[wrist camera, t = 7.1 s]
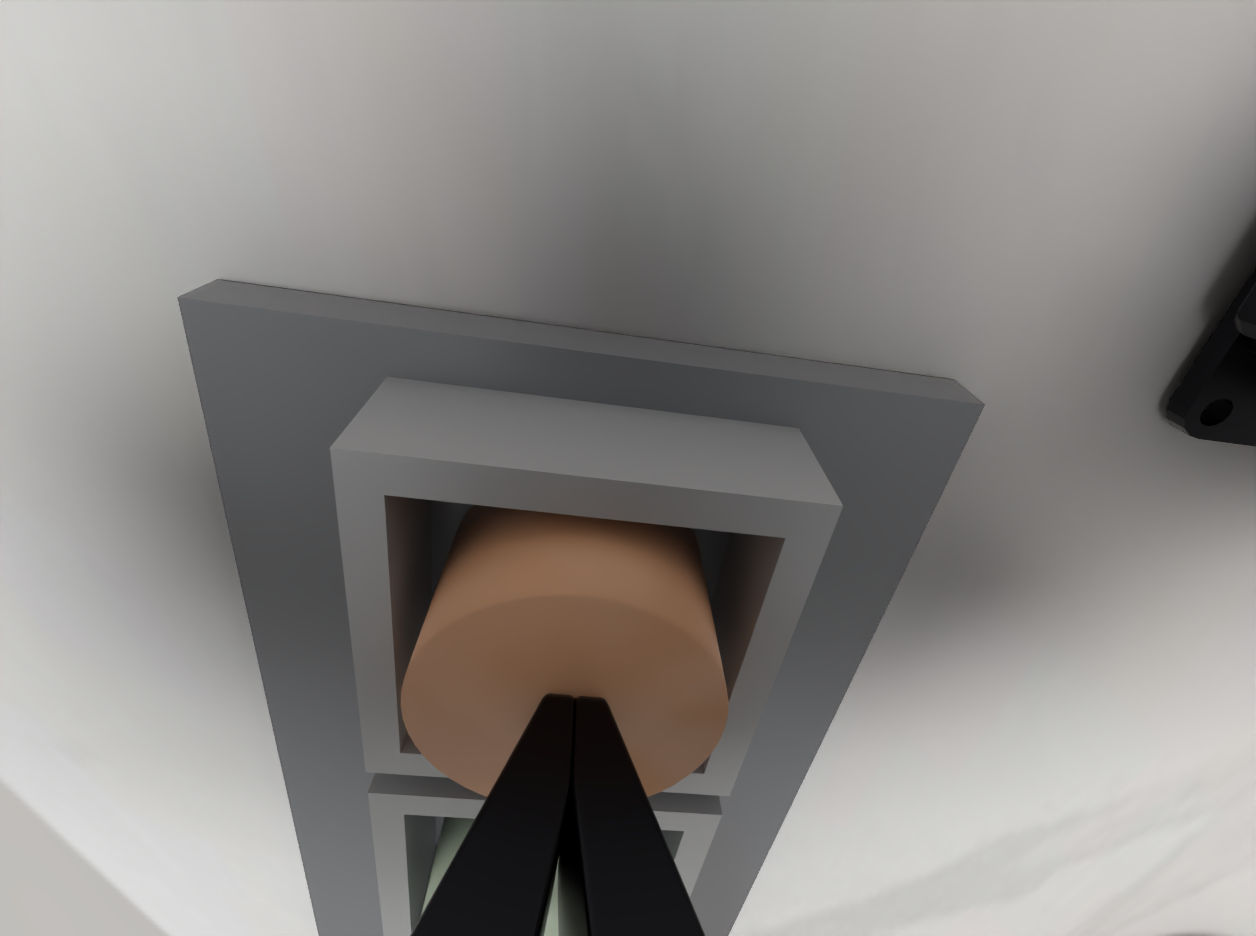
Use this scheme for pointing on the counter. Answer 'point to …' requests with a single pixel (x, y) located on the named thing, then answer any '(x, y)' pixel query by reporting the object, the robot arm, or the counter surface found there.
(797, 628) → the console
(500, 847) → the robot arm
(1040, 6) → the counter surface
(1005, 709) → the counter surface
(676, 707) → the button terracotta
